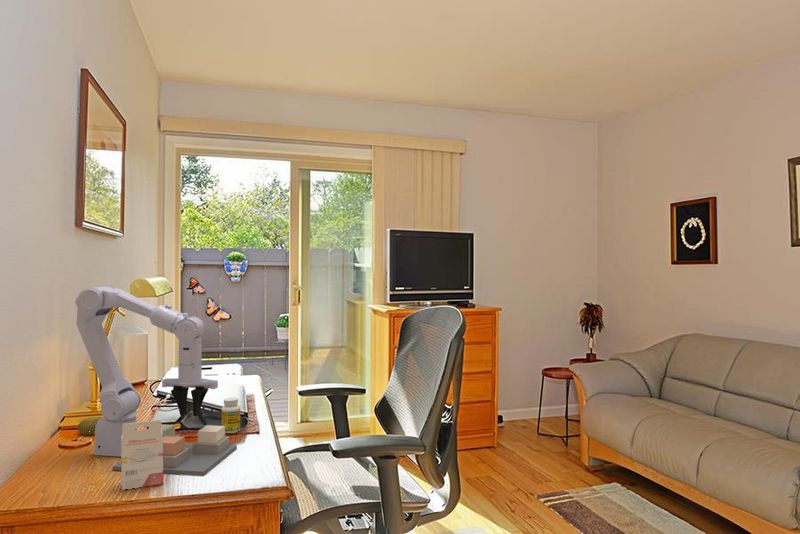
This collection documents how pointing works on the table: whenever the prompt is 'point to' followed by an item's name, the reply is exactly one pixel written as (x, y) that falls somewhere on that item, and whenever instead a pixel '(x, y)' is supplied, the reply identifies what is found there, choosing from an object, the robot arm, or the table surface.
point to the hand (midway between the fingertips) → (189, 415)
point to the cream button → (211, 434)
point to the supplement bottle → (231, 415)
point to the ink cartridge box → (141, 455)
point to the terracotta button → (173, 445)
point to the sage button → (168, 430)
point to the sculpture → (88, 425)
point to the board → (195, 458)
